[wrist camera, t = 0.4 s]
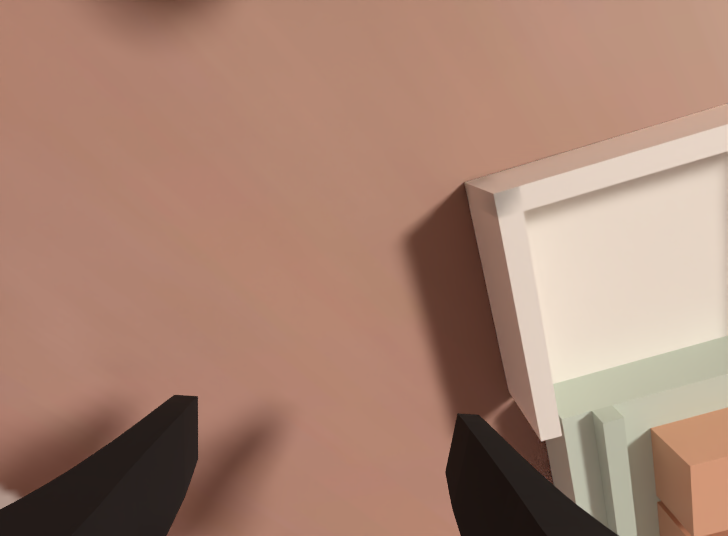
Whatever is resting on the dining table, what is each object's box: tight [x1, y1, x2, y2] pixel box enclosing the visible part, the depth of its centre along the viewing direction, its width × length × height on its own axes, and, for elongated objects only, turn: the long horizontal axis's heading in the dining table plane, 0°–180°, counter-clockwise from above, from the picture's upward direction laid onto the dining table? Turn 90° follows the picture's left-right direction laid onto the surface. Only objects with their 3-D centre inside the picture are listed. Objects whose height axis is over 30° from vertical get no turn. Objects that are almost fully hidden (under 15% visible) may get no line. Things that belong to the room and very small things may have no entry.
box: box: [464, 103, 728, 441], centre depth 19 cm, size 12×16×4 cm
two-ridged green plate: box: [545, 336, 728, 536], centre depth 23 cm, size 12×13×4 cm
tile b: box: [650, 407, 728, 536], centre depth 20 cm, size 4×4×2 cm
